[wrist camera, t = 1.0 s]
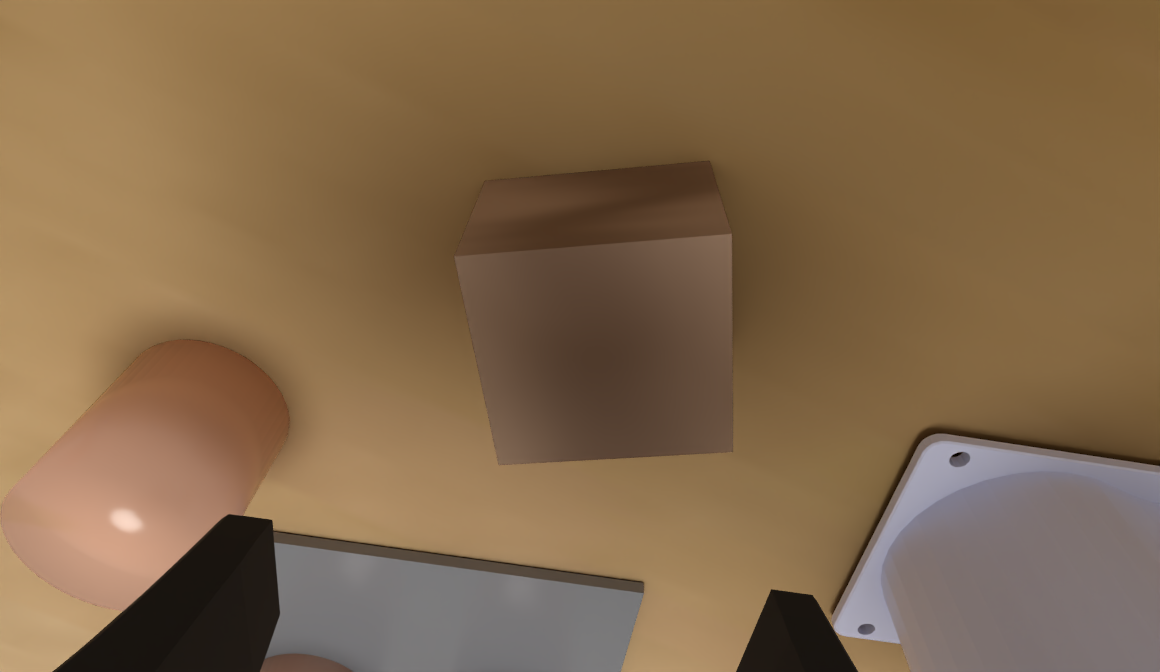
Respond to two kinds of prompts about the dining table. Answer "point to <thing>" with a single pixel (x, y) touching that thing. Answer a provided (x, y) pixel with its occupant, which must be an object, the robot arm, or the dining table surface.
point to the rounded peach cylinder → (147, 472)
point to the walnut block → (602, 313)
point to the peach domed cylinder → (301, 664)
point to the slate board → (445, 611)
